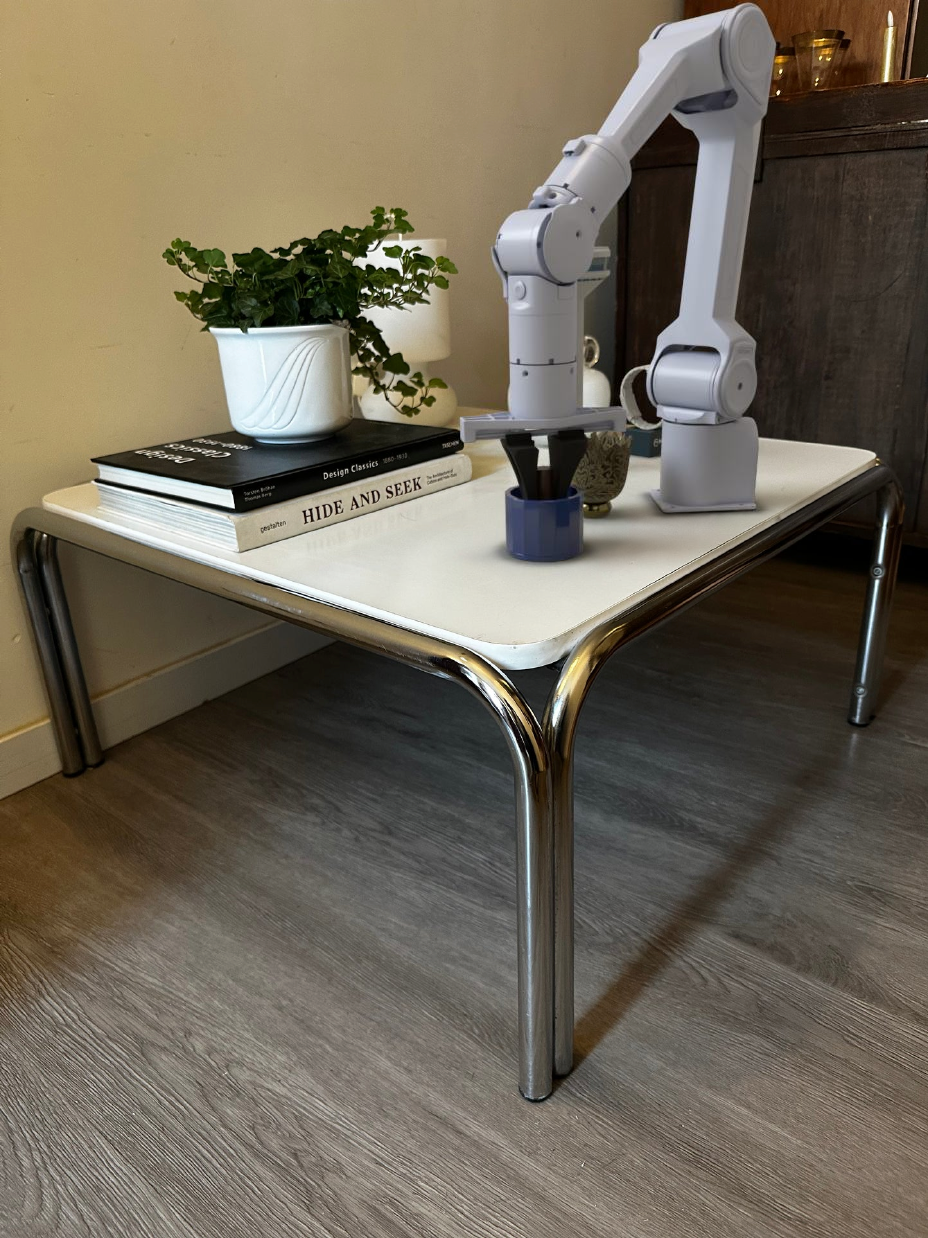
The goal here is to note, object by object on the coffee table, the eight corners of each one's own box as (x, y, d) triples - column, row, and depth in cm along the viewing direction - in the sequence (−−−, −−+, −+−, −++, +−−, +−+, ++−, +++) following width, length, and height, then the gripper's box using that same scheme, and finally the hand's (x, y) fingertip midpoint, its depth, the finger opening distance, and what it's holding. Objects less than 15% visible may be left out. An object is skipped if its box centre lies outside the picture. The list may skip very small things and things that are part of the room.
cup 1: (577, 537, 89) (578, 480, 87) (587, 560, 82) (587, 499, 80) (504, 539, 89) (503, 483, 87) (508, 563, 82) (506, 503, 80)
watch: (662, 459, 118) (666, 370, 114) (610, 451, 123) (612, 366, 119) (686, 451, 121) (690, 364, 117) (634, 444, 127) (637, 361, 123)
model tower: (604, 462, 117) (609, 202, 106) (608, 477, 110) (613, 200, 99) (538, 463, 118) (536, 206, 107) (537, 478, 111) (535, 203, 99)
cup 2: (612, 528, 91) (613, 447, 88) (545, 519, 94) (544, 441, 91) (641, 509, 97) (643, 432, 94) (576, 502, 100) (577, 427, 97)
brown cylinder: (551, 539, 86) (550, 464, 83) (556, 545, 84) (555, 469, 82) (532, 541, 86) (531, 466, 83) (536, 546, 84) (535, 470, 82)
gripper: (610, 351, 84) (607, 498, 89) (451, 361, 82) (458, 510, 87) (636, 360, 77) (631, 517, 82) (465, 370, 75) (471, 531, 80)
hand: (544, 515), depth 84 cm, fingers closed on brown cylinder, 2 cm apart
